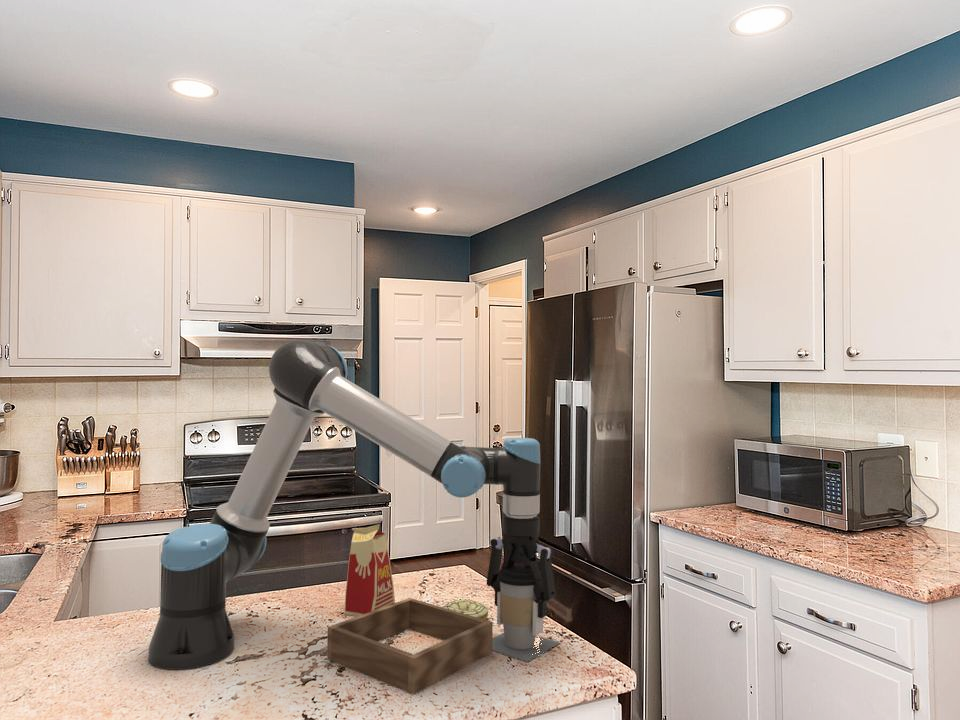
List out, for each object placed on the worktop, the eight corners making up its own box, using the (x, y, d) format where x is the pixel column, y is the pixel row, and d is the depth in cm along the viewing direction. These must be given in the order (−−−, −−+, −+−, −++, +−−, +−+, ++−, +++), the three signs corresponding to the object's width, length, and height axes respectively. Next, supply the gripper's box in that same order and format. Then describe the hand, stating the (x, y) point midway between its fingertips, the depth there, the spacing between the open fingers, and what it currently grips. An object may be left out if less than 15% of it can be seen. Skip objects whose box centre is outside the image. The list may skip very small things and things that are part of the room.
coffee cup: (539, 655, 130) (540, 577, 130) (491, 650, 132) (493, 573, 132) (544, 637, 139) (546, 564, 140) (500, 633, 141) (501, 561, 141)
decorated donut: (429, 621, 148) (429, 604, 148) (465, 610, 156) (465, 594, 156) (461, 635, 141) (461, 616, 141) (497, 622, 148) (497, 605, 148)
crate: (413, 694, 113) (413, 658, 114) (326, 658, 127) (327, 627, 127) (492, 653, 131) (492, 622, 131) (409, 625, 145) (409, 597, 145)
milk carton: (395, 607, 156) (397, 521, 157) (373, 620, 148) (375, 529, 148) (362, 601, 160) (364, 517, 161) (339, 613, 152) (341, 524, 152)
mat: (527, 662, 127) (527, 661, 127) (477, 646, 134) (477, 645, 134) (560, 643, 136) (560, 642, 136) (512, 629, 144) (512, 628, 144)
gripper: (575, 518, 133) (574, 635, 132) (491, 505, 145) (489, 611, 145) (555, 524, 127) (554, 646, 126) (469, 510, 140) (467, 621, 139)
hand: (519, 627), depth 135 cm, fingers closed on coffee cup, 8 cm apart
